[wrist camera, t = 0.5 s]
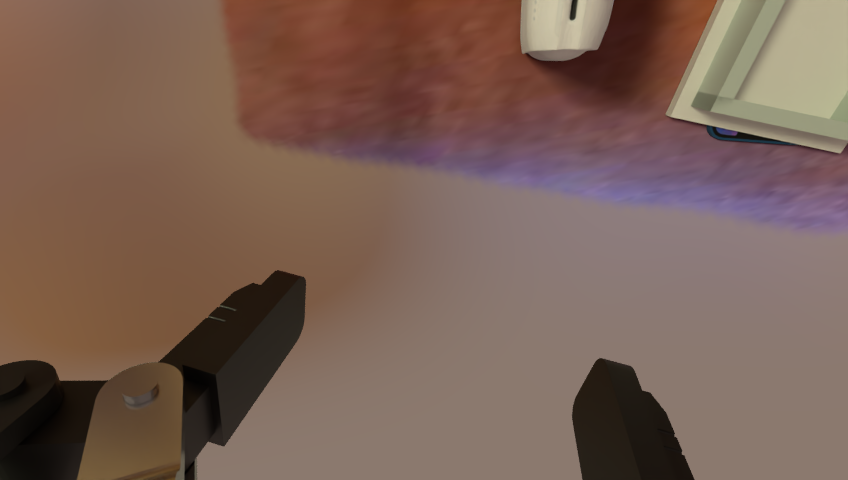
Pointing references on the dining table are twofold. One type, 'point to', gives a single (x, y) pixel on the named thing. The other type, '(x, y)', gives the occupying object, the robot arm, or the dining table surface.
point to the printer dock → (771, 72)
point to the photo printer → (563, 27)
